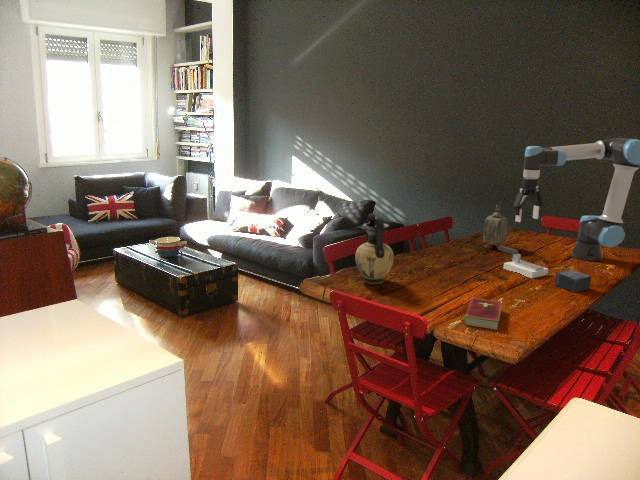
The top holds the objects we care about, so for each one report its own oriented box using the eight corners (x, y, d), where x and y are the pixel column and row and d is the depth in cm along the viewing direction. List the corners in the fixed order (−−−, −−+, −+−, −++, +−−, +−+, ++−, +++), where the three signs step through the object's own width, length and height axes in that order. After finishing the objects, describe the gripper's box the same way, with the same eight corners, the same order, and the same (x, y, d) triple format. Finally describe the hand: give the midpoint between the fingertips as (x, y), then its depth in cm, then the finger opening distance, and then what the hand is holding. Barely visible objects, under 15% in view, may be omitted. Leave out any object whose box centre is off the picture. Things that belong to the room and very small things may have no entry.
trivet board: (503, 268, 265) (503, 262, 264) (519, 265, 271) (519, 259, 271) (531, 278, 252) (532, 272, 251) (547, 274, 258) (548, 268, 257)
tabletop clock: (490, 243, 313) (495, 201, 307) (505, 246, 308) (510, 203, 302) (481, 248, 302) (486, 205, 296) (497, 251, 297) (502, 207, 291)
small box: (553, 285, 242) (573, 293, 233) (555, 272, 241) (575, 279, 232) (570, 282, 247) (590, 289, 238) (571, 269, 245) (592, 275, 236)
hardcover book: (463, 325, 195) (464, 314, 194) (469, 306, 214) (470, 296, 213) (497, 331, 191) (499, 320, 190) (501, 311, 210) (502, 301, 209)
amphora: (347, 276, 245) (350, 212, 237) (379, 273, 251) (383, 210, 244) (365, 289, 229) (369, 220, 222) (399, 285, 236) (404, 218, 228)
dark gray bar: (494, 257, 273) (496, 246, 271) (502, 256, 276) (504, 245, 274) (535, 270, 253) (537, 258, 252) (543, 269, 256) (545, 257, 255)
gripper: (540, 175, 273) (535, 216, 278) (507, 178, 260) (504, 221, 265) (553, 177, 267) (548, 218, 272) (520, 180, 254) (516, 224, 259)
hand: (526, 220), depth 269 cm, fingers open, 13 cm apart
